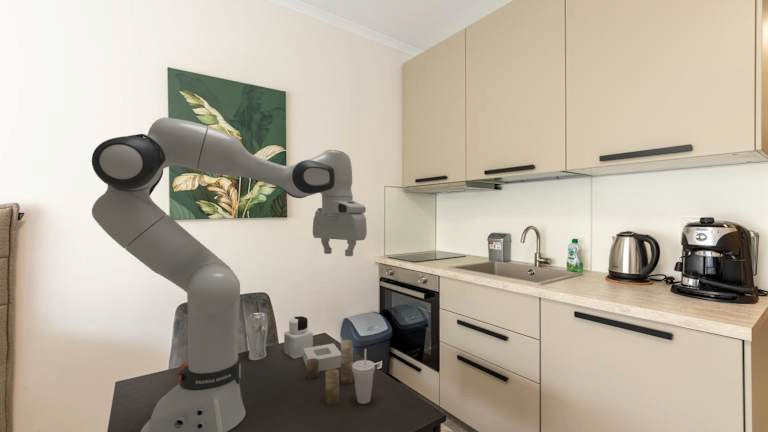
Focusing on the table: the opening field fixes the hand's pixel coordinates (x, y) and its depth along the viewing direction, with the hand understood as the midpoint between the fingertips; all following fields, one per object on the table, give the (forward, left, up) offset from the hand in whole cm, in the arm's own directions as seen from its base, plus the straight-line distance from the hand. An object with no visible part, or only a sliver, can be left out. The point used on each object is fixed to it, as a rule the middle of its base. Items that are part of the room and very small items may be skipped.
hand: (338, 254), depth 97 cm
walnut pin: (-5, +11, -39) cm, 41 cm away
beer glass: (-20, +34, -40) cm, 56 cm away
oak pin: (-3, -5, -39) cm, 40 cm away
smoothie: (+5, -8, -40) cm, 41 cm away
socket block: (0, +19, -39) cm, 44 cm away
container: (-6, +31, -40) cm, 51 cm away
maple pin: (+4, +4, -39) cm, 40 cm away
